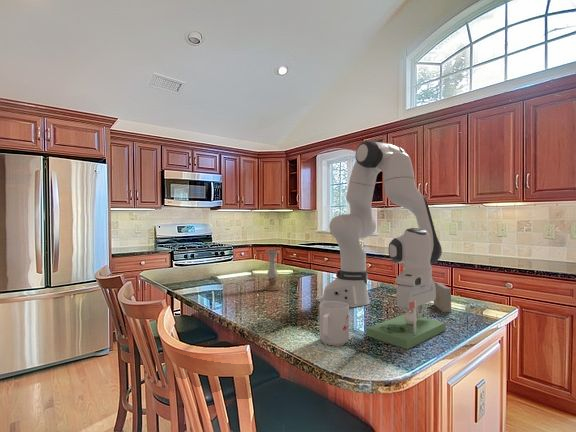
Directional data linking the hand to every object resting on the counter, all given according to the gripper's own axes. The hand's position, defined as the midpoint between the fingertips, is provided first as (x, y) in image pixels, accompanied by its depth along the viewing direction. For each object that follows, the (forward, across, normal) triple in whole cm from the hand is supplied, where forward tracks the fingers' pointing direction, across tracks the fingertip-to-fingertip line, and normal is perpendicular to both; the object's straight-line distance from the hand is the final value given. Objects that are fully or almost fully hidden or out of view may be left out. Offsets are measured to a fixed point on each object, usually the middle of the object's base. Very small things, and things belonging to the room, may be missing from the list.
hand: (417, 317), depth 111 cm
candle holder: (+4, -1, -80) cm, 80 cm away
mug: (+4, +31, -11) cm, 33 cm away
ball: (-1, +5, 0) cm, 5 cm away
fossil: (+4, -32, -6) cm, 32 cm away
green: (+4, +7, 0) cm, 8 cm away
